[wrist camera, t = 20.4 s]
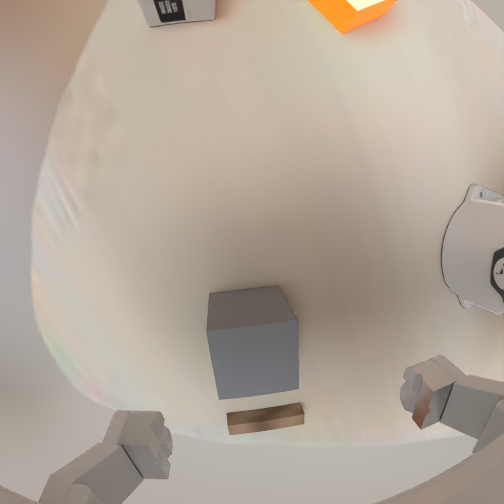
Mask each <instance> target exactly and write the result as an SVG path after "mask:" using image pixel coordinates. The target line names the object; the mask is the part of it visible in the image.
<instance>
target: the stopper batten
mask: <svg viewBox="0 0 504 504" xmlns="http://www.w3.org/2000/svg"><path fill="white" fill-rule="evenodd" d="M227 422H228V429H229V434H230V435H234V434H244V433H252V432H259V431H266V430H273V429H279V428H285V427H290V426H296V425H301V424H304V412H303V409H302V407H301V404H300V403H295V404H289V405H284V406H278V407H271V408H265V409H258V410H250V411H242V412H233V413H227Z"/></svg>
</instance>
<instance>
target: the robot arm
mask: <svg viewBox="0 0 504 504" xmlns="http://www.w3.org/2000/svg"><path fill="white" fill-rule="evenodd" d="M442 269H443V275H444V278H445V281H446V283H447V285H448V287H449V288H450V290H451V291H453V292H454V293H455V294H456V295H457V296H458V297H459V300H460V303H461V305H462V307H463V308H466V309H469V308H471V307H473V306H474V305H476V306H479V307H481V308H484V309H486V310H488V311H491V312H493V313H496V314H502V313H504V196H502V195H500V194H498V193H496V192H493V191H491V190H488V189H486V188H484V187H481V186H478V185H474V184H473V185H471V186H470V188H469V190H468V193H467V196H466V198H465V201H464V203H463V204H462V205H461V206H460V207H459V209H458V210H457V211H456V212H455V214H454V216H453V217H452V219H451V221H450V223H449V226H448V228H447V231H446V234H445V238H444V243H443V250H442ZM403 378H404V379H405V383H404V384H403V385H402V387H401V391H400V399H401V403H402V405H403V407H404V408H405V410H406V411H409V412H412V413H413V414H412V419H413V420H414V422H415V423H416V424H417V425H418V427H419V428H420V429H423V428H426V427H428V426H430V425H432V424H435V423H437V422H439V421H440V423H442V424H445V425H447V426H449V427H451V428H453V429H456V430H458V431H460V432H462V433H465V434H467V435H469V436H471V437H474V438H476V439H478V441H477V443H476V445H475V446H474V448H473V455H471V456H469V457H468V458H466V459H465V460H463V461H462V462H460V463H458V464H457V465H455V466H453V467H451V468H450V469H448V470H446V471H445V472H443V473H441V474H439V475H437V476H435V477H433V478H431V479H430V480H428V481H426V482H424V483H422V484H419V485H418V486H415V487H413V488H411V489H409V490H407V491H404V492H402V493H400V494H397V495H395V496H393V497H390V498H388V499H385V500H383V501H380V502H377V503H374V504H504V382H500V381H495V380H491V379H486V378H482V377H477V376H473V375H468V376H466V375H465V374H464V373H463V372H462V371H461V370H459V369H458V368H457V367H456V366H455V365H454V364H453V363H451V362H450V361H449V360H448V359H447V358H446V357H444V356H442V355H439V356H436V357H434V358H431V359H429V360H427V361H424V362H422V363H419V364H416V365H414V366H411V367H408V368H406V370H405V372H404V376H403ZM164 420H165V419H164V417H163V415H162V413H161V412H159V411H123V410H117V411H116V412H115V413H114V415H113V418H112V420H111V422H110V425H109V427H108V430H107V432H106V435H105V437H104V440H103V442H102V443H97V444H96V445H95V446H93V447H92V448H91V449H89V450H87V451H86V452H85V453H83V454H82V455H80V456H79V457H77V458H76V459H74V460H73V461H71V462H70V463H68V464H67V465H65V466H64V467H62V468H61V469H59V470H58V471H56V472H55V473H53V474H51V475H50V477H49V479H48V481H47V484H46V486H45V488H44V490H43V493H42V495H41V497H40V499H39V502H36V501H33V500H31V499H29V498H26V497H24V496H22V495H19V494H17V493H15V492H13V491H11V490H8V489H6V488H4V487H2V486H0V504H122V503H123V501H124V500H125V499H126V498H127V497H128V496H129V495H130V494H131V493H132V492H133V491H134V490H135V489H136V487H137V486H138V485H139V484H140V483H141V482H142V481H143V478H145V479H146V478H147V479H168V476H169V469H170V463H169V461H168V459H167V458H168V457H169V456H170V455H171V454H172V448H173V447H172V437H171V434H170V431H169V429H168V428H167V427H165V426H164Z"/></svg>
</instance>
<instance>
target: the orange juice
mask: <svg viewBox="0 0 504 504" xmlns="http://www.w3.org/2000/svg"><path fill="white" fill-rule="evenodd" d="M308 1H309V2H310V3H311V4H312V5H313V6H314V7H315V8H316V9H317V10H318V11H319V12H320V13H321V14H322V15H323V16H324V17H325V18H326V19H327V20H328V21H329V22H330V23H331V24H332V25H333V26H334V27H335V28H336V29H337V30H338V31H339V32H340V33H341V34H343V33H345V32H347V31H349V30H351V29H353V28H355V27H358V26H360V25H362V24H364V23H366V22H368V21H370V20H373V19H375V18H377V17H380V16H382V15H384V14H385V13H386V12H387V11H388V9H389V8H390V7H391V6H392V5H393V4H394V3H395V2H396V1H397V0H308Z"/></svg>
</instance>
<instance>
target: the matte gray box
mask: <svg viewBox="0 0 504 504" xmlns="http://www.w3.org/2000/svg"><path fill="white" fill-rule="evenodd" d="M207 337H208V343H209V349H210V354H211V360H212V365H213V371H214V376H215V381H216V386H217V391H218V396H219V400H221V399H231V398H241V397H249V396H257V395H264V394H271V393H278V392H284V391H290V390H295V389H299V358H298V320H297V318H296V316H295V314H294V313H293V311H292V309H291V308H290V306H289V304H288V303H287V301H286V299H285V298H284V296H283V294H282V292H281V291H280V289H279V287H278V286H272V287H263V288H255V289H246V290H237V291H228V292H219V293H209V305H208V317H207Z"/></svg>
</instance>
